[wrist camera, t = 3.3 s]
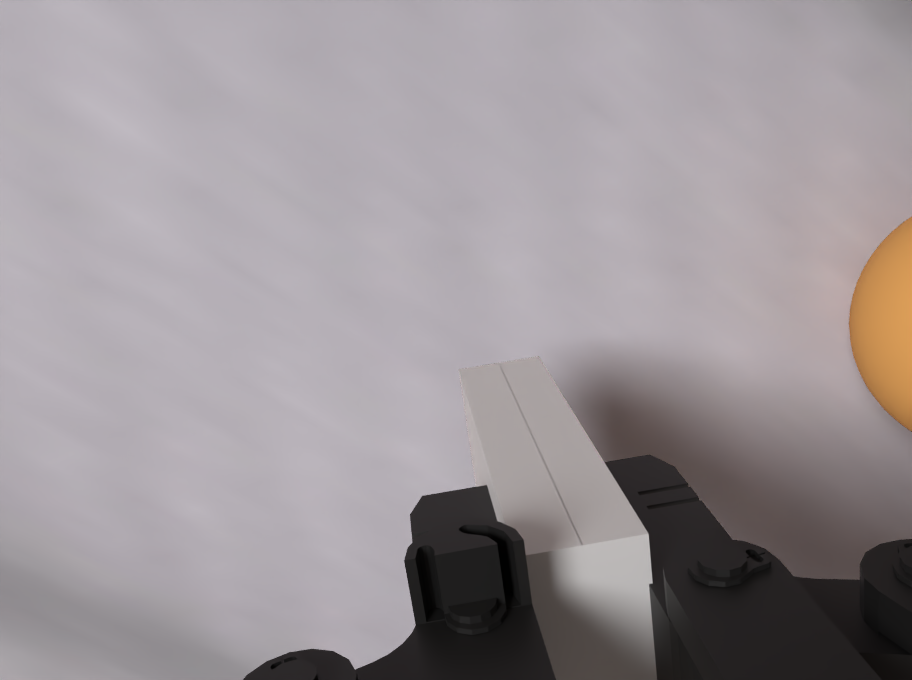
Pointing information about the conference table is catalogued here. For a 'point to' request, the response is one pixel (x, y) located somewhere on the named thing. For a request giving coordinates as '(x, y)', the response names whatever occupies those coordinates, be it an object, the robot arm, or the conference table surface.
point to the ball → (886, 324)
